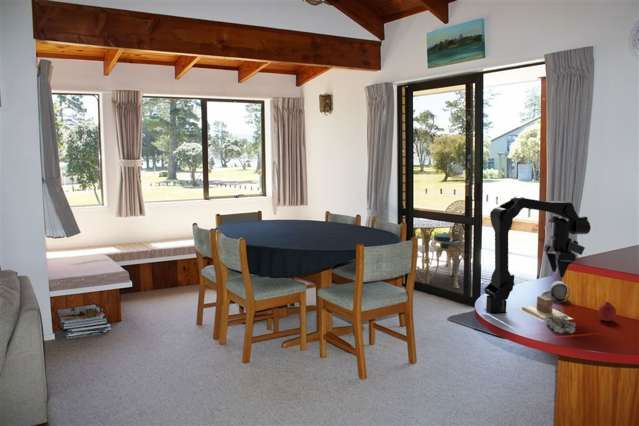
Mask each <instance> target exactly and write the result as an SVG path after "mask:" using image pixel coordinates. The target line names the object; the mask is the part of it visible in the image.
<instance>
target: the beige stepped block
mask: <svg viewBox="0 0 639 426" xmlns="http://www.w3.org/2000/svg"><path fill="white" fill-rule="evenodd" d="M553 304H554V300H553V299H552V298H551V297H550V298H548V297H546V296H541V295H539V296H537V298H536V305H529V306H522V307H521V308H522V310H524V311H526V312H528V313H530V314H532V315H534V316H536V317H538V318H540V319H542V320H547V319H546V316H548V317H551V316H552V317H556V318H557V317H559V318H560V319H562V318H567V317H569V316H568V315H567V314H565V313H563V312H561V311H558V310H557V309H555V308H553V307H554V306H553Z"/></svg>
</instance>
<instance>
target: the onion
mask: <svg viewBox="0 0 639 426" xmlns="http://www.w3.org/2000/svg"><path fill="white" fill-rule="evenodd" d="M597 313H598V316H599V317H600V319H601V320H603V321H604V322H611V321H612V320H614V319H615V318H616V316H617V310H616V308H615V306H614V305H613V304H612V303H611V302H610V301H609V300H607V299H606V300H605V302H604V303H602V304H601V305H599V307H598V309H597Z"/></svg>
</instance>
